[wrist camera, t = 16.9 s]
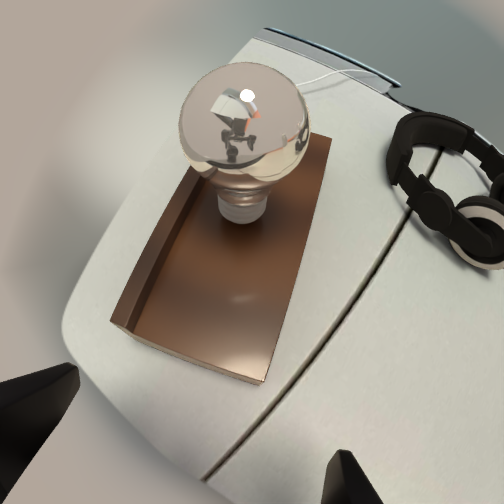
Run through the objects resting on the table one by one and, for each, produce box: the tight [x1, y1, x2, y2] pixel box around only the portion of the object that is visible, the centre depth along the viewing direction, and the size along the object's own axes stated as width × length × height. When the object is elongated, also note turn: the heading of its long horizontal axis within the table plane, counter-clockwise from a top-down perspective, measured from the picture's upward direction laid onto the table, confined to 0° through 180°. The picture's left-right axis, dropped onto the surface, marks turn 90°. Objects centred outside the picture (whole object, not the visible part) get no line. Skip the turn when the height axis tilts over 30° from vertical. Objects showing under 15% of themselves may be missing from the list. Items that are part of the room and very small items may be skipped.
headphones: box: [386, 112, 504, 270], centre depth 28 cm, size 18×8×20 cm
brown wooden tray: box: [110, 132, 332, 386], centre depth 25 cm, size 22×10×6 cm, turn 162°
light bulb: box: [178, 62, 311, 224], centre depth 18 cm, size 7×7×12 cm
